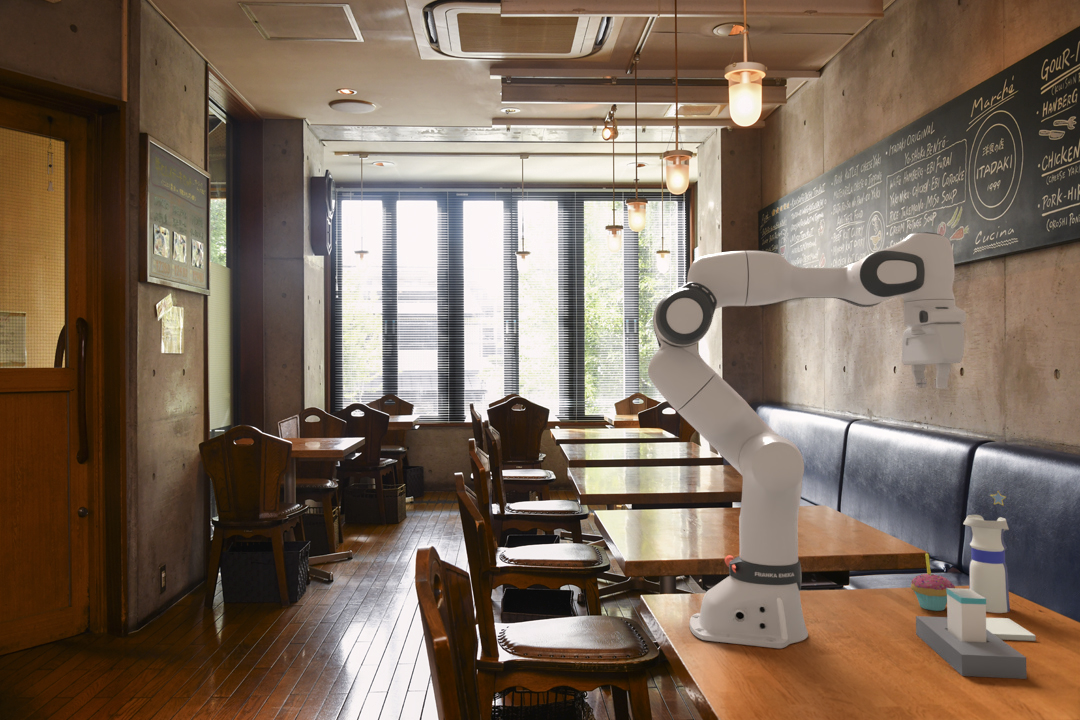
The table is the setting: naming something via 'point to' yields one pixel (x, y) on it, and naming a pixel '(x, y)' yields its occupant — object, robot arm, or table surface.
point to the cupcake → (931, 589)
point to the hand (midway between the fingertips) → (930, 388)
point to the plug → (966, 615)
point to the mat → (1008, 629)
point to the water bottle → (989, 560)
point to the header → (971, 651)
